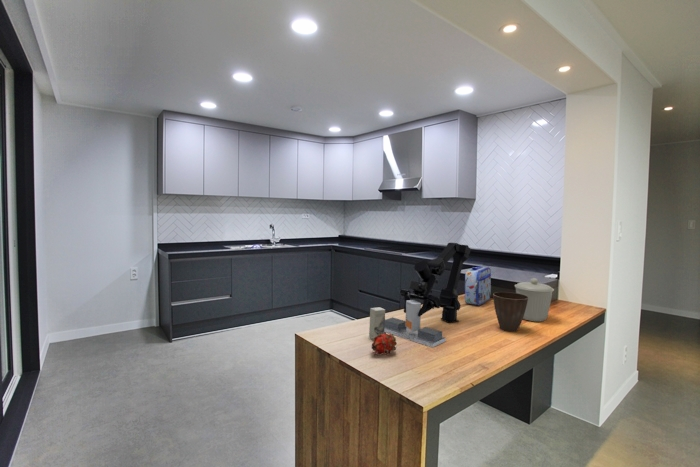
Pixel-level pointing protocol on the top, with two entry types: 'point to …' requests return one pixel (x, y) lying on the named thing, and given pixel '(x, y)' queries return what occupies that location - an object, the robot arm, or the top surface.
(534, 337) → the top surface
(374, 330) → the box
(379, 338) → the dragon fruit
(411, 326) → the skincare box
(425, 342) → the rail plate
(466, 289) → the lunch box
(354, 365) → the top surface
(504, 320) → the plant pot
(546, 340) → the top surface
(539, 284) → the canister
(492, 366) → the top surface
